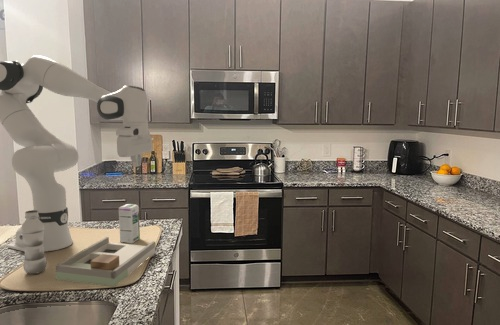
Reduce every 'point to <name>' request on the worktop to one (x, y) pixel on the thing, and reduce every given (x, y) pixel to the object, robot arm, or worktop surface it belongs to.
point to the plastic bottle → (33, 243)
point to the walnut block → (105, 262)
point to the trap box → (81, 270)
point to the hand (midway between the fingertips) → (136, 166)
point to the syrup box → (129, 223)
